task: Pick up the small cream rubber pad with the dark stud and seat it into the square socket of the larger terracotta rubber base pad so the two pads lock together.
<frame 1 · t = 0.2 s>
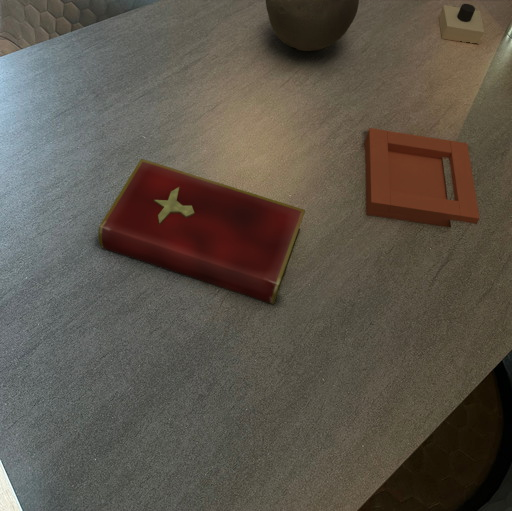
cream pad: (458, 30, 109), on the table
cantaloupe: (302, 48, 101), on the table
base pad: (416, 183, 85), on the table
hardcover book: (203, 241, 75), on the table
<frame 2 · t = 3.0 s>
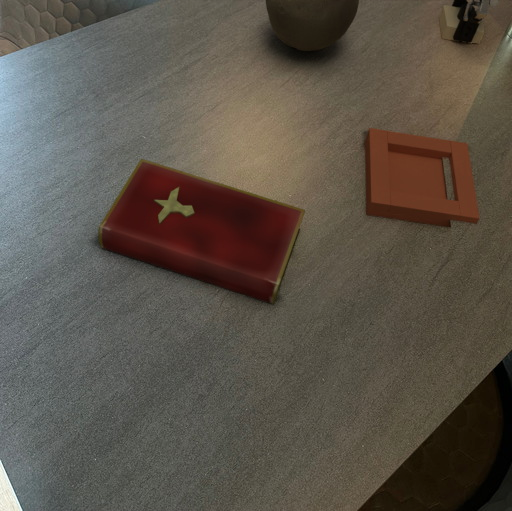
hand: (459, 27, 109), 1 cm above the table, tool pointing down, fingers closed on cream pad, 6 cm apart
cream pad: (458, 30, 109), on the table, touching gripper
everything else where it was.
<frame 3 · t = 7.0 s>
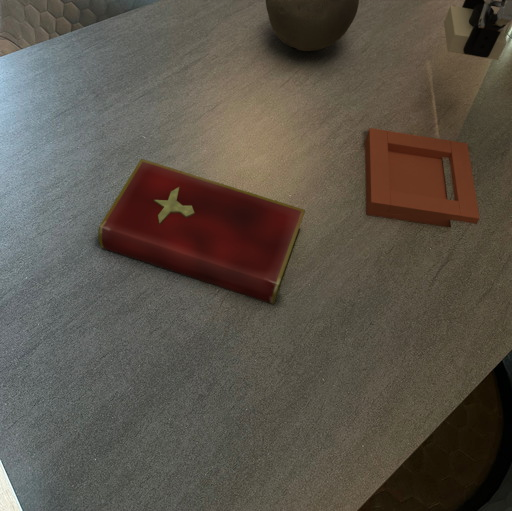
hand: (472, 36, 80), 16 cm above the table, tool pointing down, fingers closed on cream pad, 6 cm apart
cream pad: (470, 41, 80), point 15 cm above the table, touching gripper
everything else where it was.
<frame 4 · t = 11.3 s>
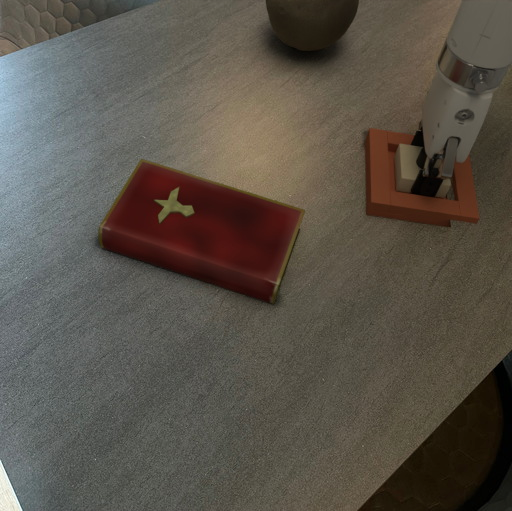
hand: (420, 173, 84), 2 cm above the table, tool pointing down, fingers closed on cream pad, 6 cm apart
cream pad: (418, 177, 84), point 1 cm above the table, touching gripper
everything else where it was.
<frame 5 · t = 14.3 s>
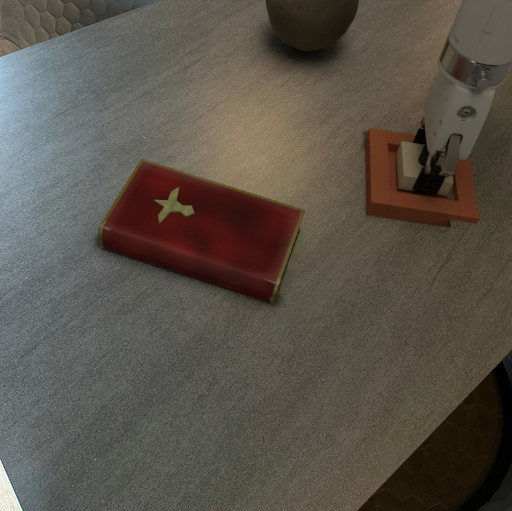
hand: (423, 171, 83), 2 cm above the table, tool pointing down, fingers closed on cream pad, 6 cm apart
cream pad: (420, 174, 84), point 2 cm above the table, touching gripper
everything else where it was.
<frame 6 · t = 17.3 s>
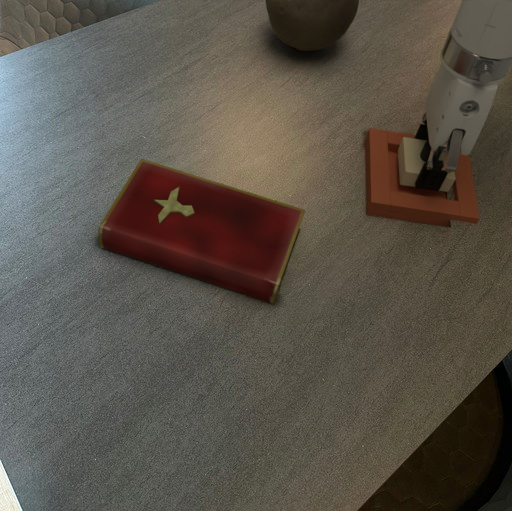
hand: (424, 167, 83), 3 cm above the table, tool pointing down, fingers closed on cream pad, 6 cm apart
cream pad: (422, 170, 83), point 2 cm above the table, touching gripper
everything else where it was.
when the fingers open (3 cm above the table, at t = 22.8 s): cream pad drops 2 cm, resting on base pad.
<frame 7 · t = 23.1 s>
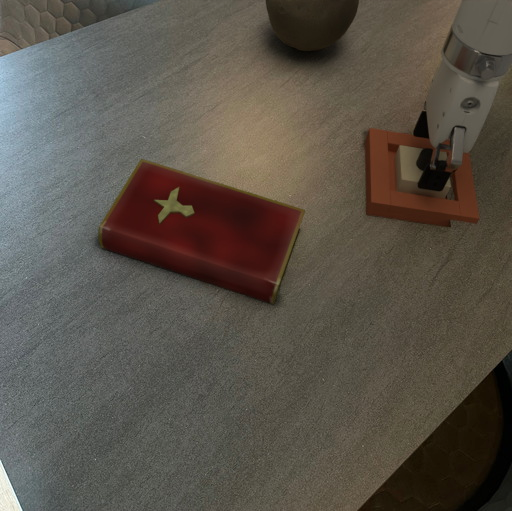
hand: (426, 161, 82), 4 cm above the table, tool pointing down, fingers open, 9 cm apart
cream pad: (418, 178, 85), point 1 cm above the table, touching base pad
everything else where it was.
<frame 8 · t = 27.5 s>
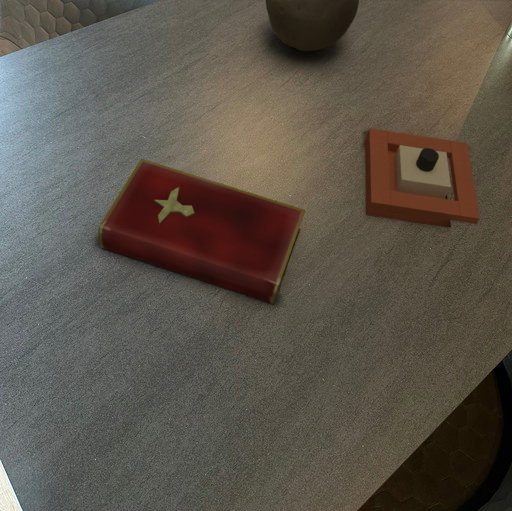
nothing on the table moved.
at the end: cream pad 0.1 cm off-centre on the base pad, point 1.0 cm above the base pad's base; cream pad tilted 0°; the gripper is holding nothing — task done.
